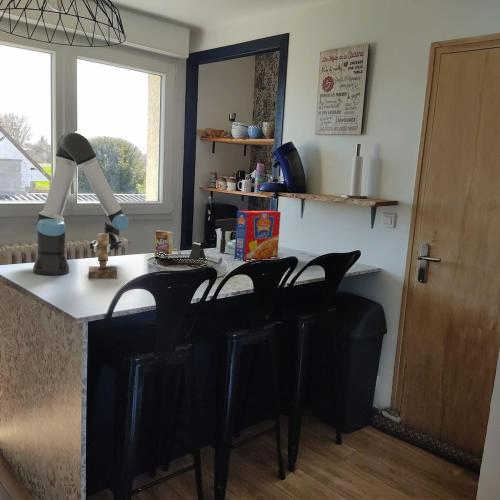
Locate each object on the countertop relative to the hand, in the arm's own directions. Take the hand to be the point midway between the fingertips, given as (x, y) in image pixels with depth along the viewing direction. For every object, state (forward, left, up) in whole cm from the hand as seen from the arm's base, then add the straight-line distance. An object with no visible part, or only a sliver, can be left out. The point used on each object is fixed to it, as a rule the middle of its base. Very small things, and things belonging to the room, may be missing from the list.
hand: (101, 249), depth 213 cm
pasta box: (+89, +49, -13) cm, 102 cm away
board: (+1, +5, -13) cm, 14 cm away
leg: (+1, +5, -9) cm, 10 cm away
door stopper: (+49, +28, -13) cm, 58 cm away
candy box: (+34, +48, -13) cm, 60 cm away
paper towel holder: (+83, +74, -13) cm, 112 cm away
